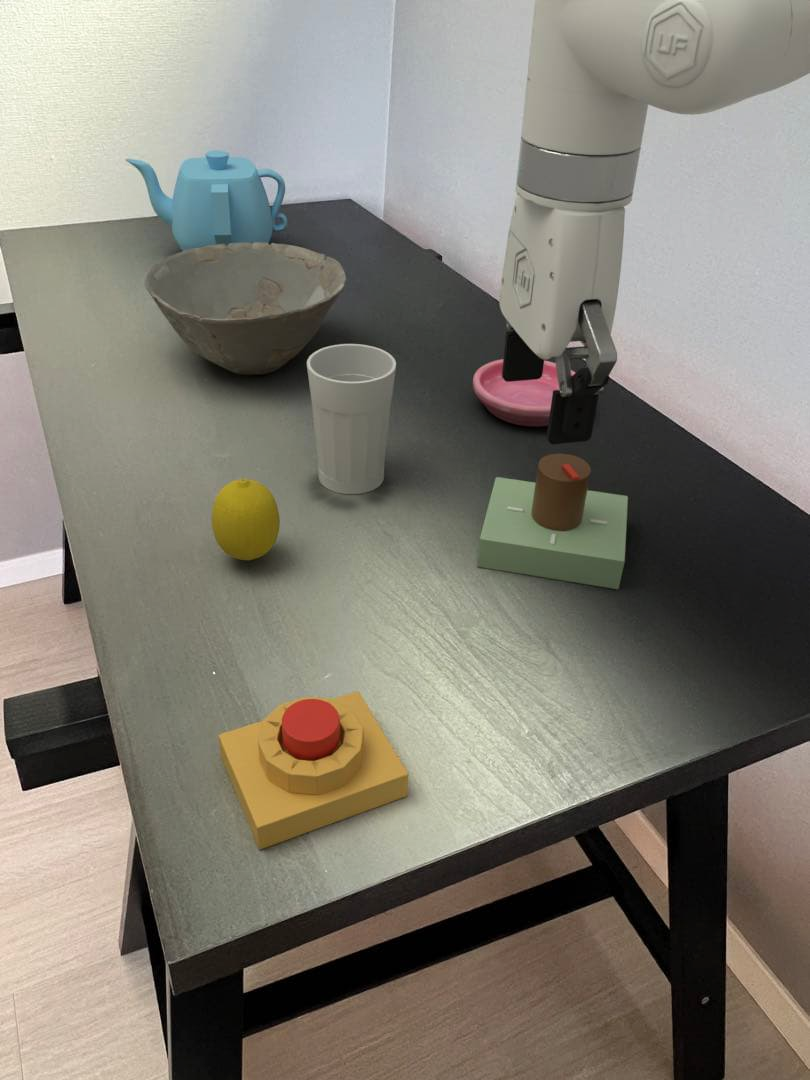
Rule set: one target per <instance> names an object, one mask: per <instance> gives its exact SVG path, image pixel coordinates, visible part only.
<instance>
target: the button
mask: <svg viewBox="0 0 810 1080" xmlns="http://www.w3.org/2000/svg"><path fill="white" fill-rule="evenodd" d="M282 737H283V744H284V747H285V749H286V750H287V751H288V752H289V753H290V754H291V755H293V756H294V757H296V758H299V759H303V760H317V759H321V758H324V757H326V756H328V755H330V754H331V753H332V752H333V751H334V750H335V749H336V748H337V746H338V744H339V741H340V717H339V714H338V712H337V710H336V709H335V708H334V707H333V706H332V705H331V704H329V703H328V702H326V701H323V700H319V699H305V700H301V701H298V702H296V703H294V704H292V705H291V706H290V707H288V708H287V709H286V711H285V712H284V714H283V717H282Z"/></svg>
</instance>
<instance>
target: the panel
mask: <svg viewBox="0 0 810 1080" xmlns="http://www.w3.org/2000/svg"><path fill="white" fill-rule="evenodd" d="M535 483H536V481H535V482H532V481H528V480H527V481H526V480H519V479H515V478H507V477H500V476H496V477H495V479H494V483H493V486H492V491H491V494H490V498H489V502H488V506H487V508H486V513H485V517H484V520H483V524H482V529H481V533H480V534H479V535H480V536H479V539H478V540H479V541H478V550H477V561H476V567H477V568H484V569H489V570H494V571H502V572H508V573H513V574H520V575H526V576H531V577H539V578H543V579H551V580H557V581H564V582H569V583H577V584H582V585H589V586H595V587H600V588H607V589H612V590H619V589H620V586H621V585H620V584H621V581H622V576H623V573H624V572H623V571H624V567H625V562H626V545H627V544H626V543H627V523H628V506H629V505H628V504H629V496H628V495H623V494H616V493H609V492H603V491H602V492H601V491H596V490H595V491H594V490H589V489H588V490H587V496H586V501H585V507H584V512H583V518H582V521H581V523H580V524H579V525H578V526H577V527H575V528H573V529H569V530H553V529H549V528H546V527H543V526H541V525H539V524H538V523H537V522H536V521H535V520H534V519H533V517H532V514H531V511H532V504H533V497H534V490H535Z"/></svg>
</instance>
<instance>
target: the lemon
mask: <svg viewBox="0 0 810 1080" xmlns="http://www.w3.org/2000/svg"><path fill="white" fill-rule="evenodd" d="M280 519H281V518H280V512H279V508H278V504H277V501H276V499H275V496H274V494H273V493H272V492H271V490H270V489H269V488H268V487H266V486H265V485H264V484H263V483H261V482H259V481H257V480H254V479H250V478H245V477H244V478H239V479H235V480H233V481H230V482H228V483H227V484H226V485H224V486H223V487H222V488H221V489H220V490H219V491H218V493H217V495H216V496H215V498H214V501H213V505H212V510H211V527H212V528H211V529H212V532H213V535H214V536H213V537H214V538H215V541H216V543H217V544H218V546H219V547H220V548H221V549H222V551H223V552H224V553H226V554H227V555H228V556H230V557H232V558H234V559H237V560H241V561H246V562H247V561H252V560H256V559H259V558H261V557H263V556H264V555H266V554H267V553H268V552H269V551H270V550H271V549H272V548H273V546H274V545H275V544H276V542H277V540H278V537H279V532H280V525H281V520H280Z"/></svg>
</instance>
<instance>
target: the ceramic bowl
mask: <svg viewBox="0 0 810 1080" xmlns="http://www.w3.org/2000/svg"><path fill="white" fill-rule="evenodd" d="M346 282H347V276H346V272H345V270H344V267H343V266H342V265H341V263H340V262H339V261H338V260H336V259H335V258H332V257H330V256H326V254H325V253H319V252H316V251H313V250H311V249H308V248H305V247H301V246H299V245H298V246H297V245H291V244H286V243H276V242H271V243H263V242H255V243H253V244H251V243H248V242H241V243H230V244H228V246H225V245H223V244H220V245H209V246H206V247H202V248H196V249H194V248H192V249H188V250H185V251H182V250H181V251H180V252H176V253H175V254H171V255H169V256H168V257H166V258H164V259H162V260H161V261H159V262H157V263H155V264H154V265H152V266H151V268H149V269H148V271H147V272H146V274H145V277H144V287H145V289H146V291H147V292H148V293H149V295H150V297H151V298H152V300H153V301H154V302H155V304H156V305H157V307H158V308H159V310H160V312H161V313H162V315H163V316H164V317H165V319H166V320H167V322H169V324H170V326H171V327H172V329H173V331H175V333H176V334H177V335H178V336H179V338H180V339H181V340H182V341H183V342H184V343H185V344H186V345H187V346H188V348H190V349H191V350H192V351H193V352H194V353H195V354H197V355H199V356H200V357H202V358H204V359H205V360H207V361H208V362H211V363H213V364H214V365H217V366H219V367H221V368H223V369H225V370H227V371H229V372H230V373H234V374H235V375H241V376H246V375H247V376H249V375H266V374H269V373H273V372H275V371H277V370H279V369H280V368H281V367H283V366H285V365H286V364H287V363H288V362H290V361H291V360H292V359H294V358H295V357H296V356H297V355H298V354H299V353H300V352H301V351H302V350H303V349H304V348H305V347H306V346H307V345H308V344H309V342H310V341H311V340H312V339H313V338H314V336H315V335H316V334H317V333H318V331H320V328H321V327H322V325H323V322H324V320H325V317H326V316H327V314H328V313H329V311H330V309H331V308H332V306H333V305H334V304H335V302H336V301H337V299H338V298H339V295H340V294H341V292H342V291H343V289H344V288H345V284H346Z"/></svg>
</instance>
